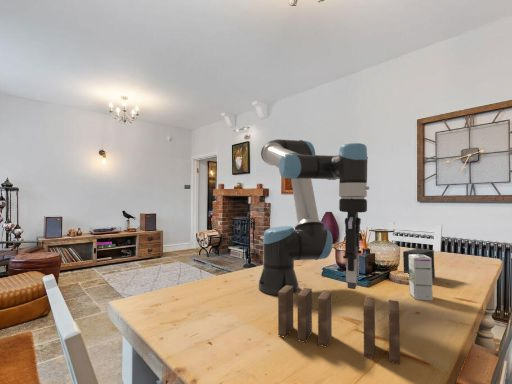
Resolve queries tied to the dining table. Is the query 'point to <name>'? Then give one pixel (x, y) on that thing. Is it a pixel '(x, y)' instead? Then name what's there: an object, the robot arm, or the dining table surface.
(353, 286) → the domino
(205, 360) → the dining table surface
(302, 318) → the domino
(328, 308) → the domino
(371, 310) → the domino
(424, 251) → the small box
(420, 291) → the syrup box
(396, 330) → the domino
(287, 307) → the domino
